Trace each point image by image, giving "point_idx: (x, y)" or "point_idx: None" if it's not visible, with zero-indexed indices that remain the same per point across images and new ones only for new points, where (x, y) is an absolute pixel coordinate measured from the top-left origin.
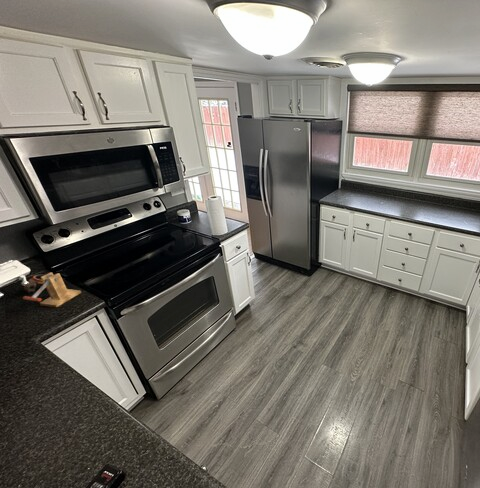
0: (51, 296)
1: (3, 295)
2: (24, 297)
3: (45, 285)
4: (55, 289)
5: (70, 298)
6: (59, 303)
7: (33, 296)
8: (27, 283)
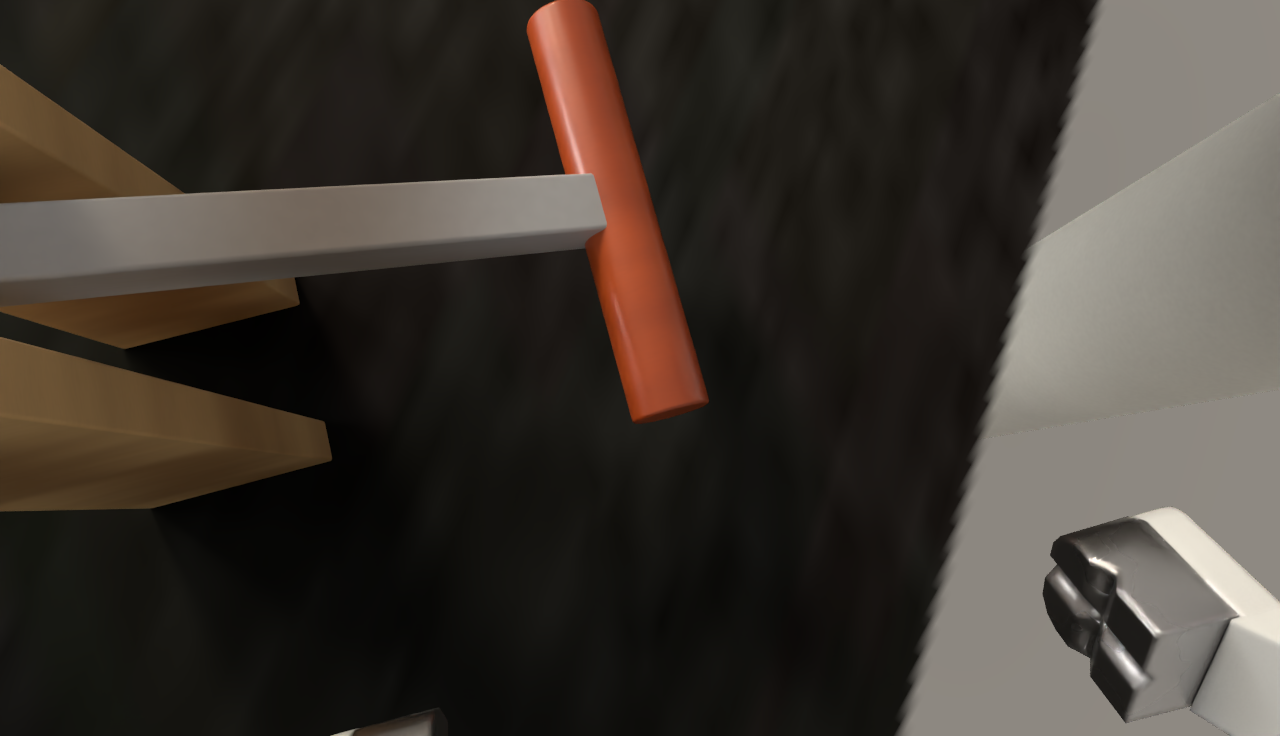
0: (319, 431)
1: (1056, 552)
2: (685, 363)
3: (186, 198)
4: (171, 188)
5: None
6: None
7: (575, 186)
8: (363, 730)
